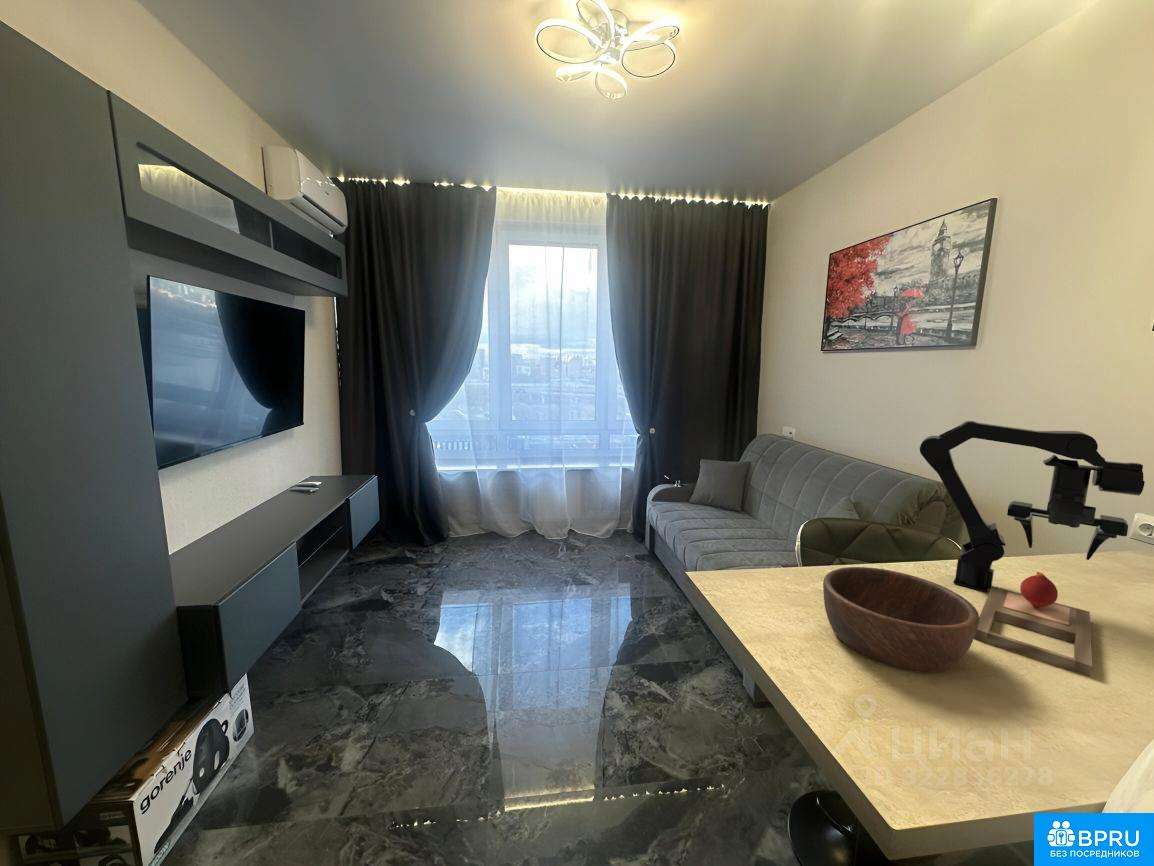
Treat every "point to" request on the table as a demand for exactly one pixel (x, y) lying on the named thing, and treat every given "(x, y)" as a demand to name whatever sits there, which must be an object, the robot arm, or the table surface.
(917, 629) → the wooden bowl
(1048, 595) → the onion
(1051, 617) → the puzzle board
